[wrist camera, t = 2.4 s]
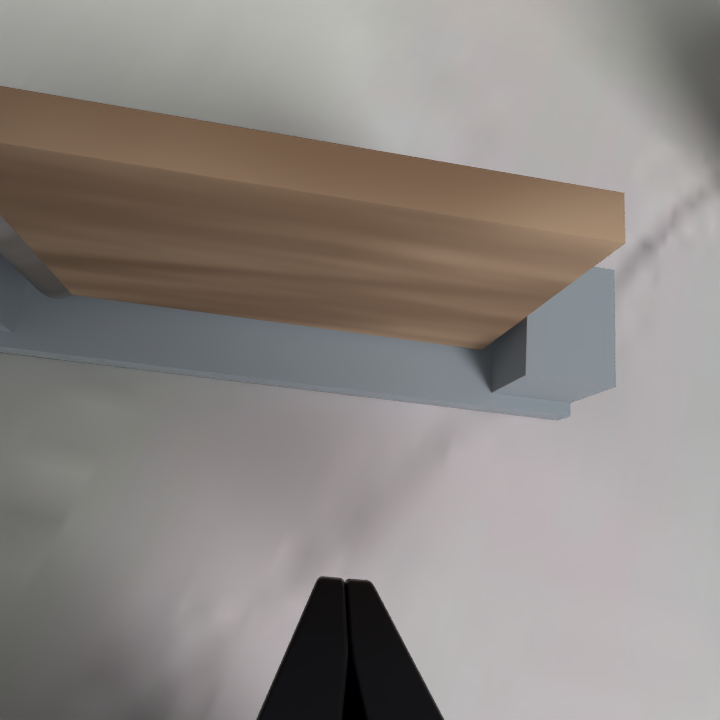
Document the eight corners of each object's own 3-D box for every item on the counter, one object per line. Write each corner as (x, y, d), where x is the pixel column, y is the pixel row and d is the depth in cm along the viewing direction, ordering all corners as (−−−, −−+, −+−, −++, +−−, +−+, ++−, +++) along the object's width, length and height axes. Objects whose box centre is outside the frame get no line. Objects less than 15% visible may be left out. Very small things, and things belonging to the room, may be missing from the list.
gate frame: (557, 420, 23) (615, 402, 19) (-83, 342, 20) (-164, 303, 16) (559, 296, 24) (614, 256, 20) (-44, 207, 22) (-111, 142, 18)
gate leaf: (481, 355, 22) (625, 251, 13) (28, 294, 20) (-158, 127, 11) (483, 312, 22) (623, 184, 13) (39, 249, 20) (-131, 54, 12)
